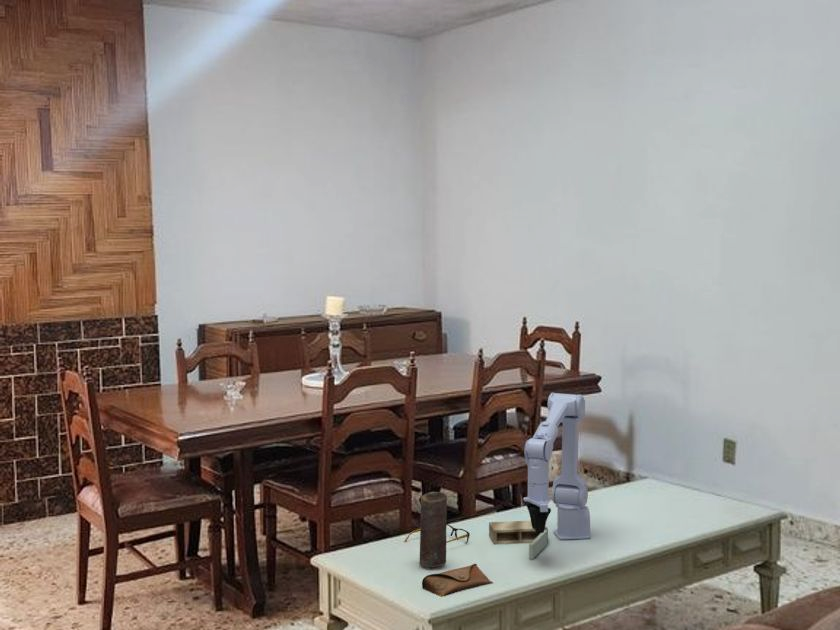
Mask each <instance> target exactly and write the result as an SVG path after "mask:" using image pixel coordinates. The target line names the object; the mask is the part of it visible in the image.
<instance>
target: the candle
mask: <svg viewBox="0 0 840 630" xmlns="http://www.w3.org/2000/svg"><path fill="white" fill-rule="evenodd" d="M447 498H448V496H447V494H446V493H444V492H442V491H431V492H427V493H425V494H423V495H421V496H420V523H419V524H420V525H419V529H420V530H419V532H420V534H419V535H420V536H419V565H421V566H425V567H426V568H429V569H433V568H437V567H440V566H443V565H446V563H447V543H446V541H447V525H446V524H447V519H448V518H447V515H448V514H447V513H448V512H447V510H448V509H447V508H448V507H447V505H448V503H447V502H448V500H447Z"/></svg>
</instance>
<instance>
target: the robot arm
mask: <svg viewBox="0 0 840 630" xmlns="http://www.w3.org/2000/svg"><path fill="white" fill-rule="evenodd" d="M585 400H586V399H585V397H584V396H583V394H572V393H558V392H557V393H556V392H551V393H550V394H549V396H548V399H547V410H548V414H547V417H546V419H545V421H542V422H541V423H540V424H539V425H538V427H537V429H536V431H535V433H534V434H533V436H532V438H529V439H527V440H526V442H525V443H524V444H525V445H524V451H523V452H524V457H525V464H526V466H527V496H526V497H523V501H524V502H525V506H526V508H527V510H528V513H529V518H530V521H531V524H532V528H533V529H535V531H536V533H544V529H545V526H546V525H547V520H548V518H549V515H550V514H551V512H552V508H551V507H549V503H550V497H549V491H550V489H549V487H550V486H549V485H550V484H549V482H550V481H549V479H550V475H549V473H550V472H549V471H550V467H549V465H550V463H549V462H550V460H551V459H552V455H553V449H554V442H555V441H556V438H557V437H558V435H559V428H558V427H559V425H560V424H561V423H562V430H561V431H562V433H561V435H562V437H561V439H562V440H561V474H560V475H558V476H557V477H555V479H554V480H553V483H552V490H551V495H550V496H551V501H552V502H553V504H555V507H556V508H557V517H556V518H557V519H556V520H557V523H556V526H557V527H556V528H557V529H554V530H553V533H554V534H555V535H556V538H558V539H559V540H561V541H562V540H564V541H565V540H585V539H591V513H590V509H589V507H588V506H586V505H587V502H588V498H589V497H588V496H589V493H588V492H589V491H588V485H587V484H588V483H587V481H586V480H585V479H584V478H583V477H581V476H580V475H579V474H578V473H579V472H578V471H579V466H578V465H579V429H580V428H579V427H580V422H581V421H583V420H585V416H586V401H585Z"/></svg>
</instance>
